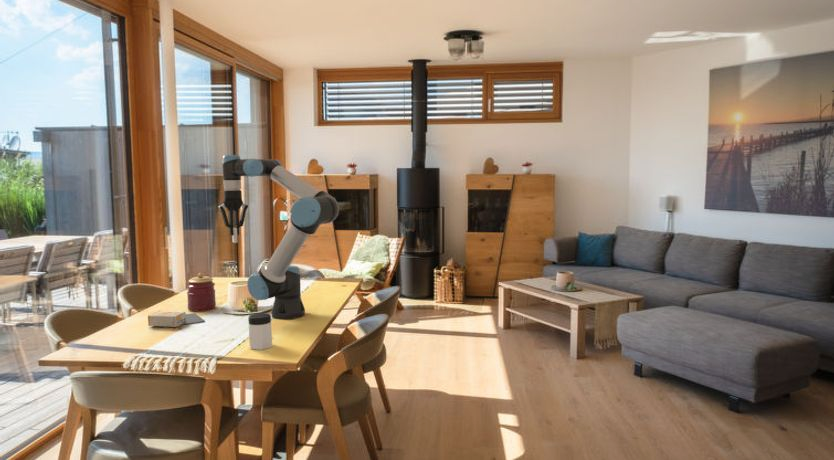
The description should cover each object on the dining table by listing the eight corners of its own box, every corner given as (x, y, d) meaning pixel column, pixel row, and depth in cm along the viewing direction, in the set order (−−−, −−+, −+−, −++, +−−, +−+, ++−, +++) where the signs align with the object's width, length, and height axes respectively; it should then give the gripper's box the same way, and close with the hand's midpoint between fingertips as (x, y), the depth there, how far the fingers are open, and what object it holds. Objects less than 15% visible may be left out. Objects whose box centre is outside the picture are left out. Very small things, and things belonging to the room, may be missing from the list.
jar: (264, 341, 227) (263, 311, 226) (277, 345, 222) (276, 314, 220) (244, 347, 220) (243, 316, 219) (257, 351, 215) (255, 319, 214)
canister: (214, 304, 292) (212, 269, 291) (217, 310, 281) (215, 273, 279) (186, 307, 287) (184, 272, 285) (188, 313, 275) (186, 276, 273)
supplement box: (148, 326, 250) (175, 327, 248) (147, 315, 250) (175, 316, 248) (159, 321, 258) (186, 322, 256) (159, 310, 258) (186, 311, 256)
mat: (205, 321, 259) (205, 320, 258) (164, 328, 249) (163, 326, 249) (194, 314, 273) (194, 312, 273) (155, 319, 264) (155, 318, 264)
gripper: (244, 189, 267) (246, 240, 269) (215, 190, 259) (217, 242, 262) (249, 189, 261) (252, 242, 263) (220, 190, 253) (222, 244, 256)
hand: (235, 242), depth 262 cm, fingers closed
